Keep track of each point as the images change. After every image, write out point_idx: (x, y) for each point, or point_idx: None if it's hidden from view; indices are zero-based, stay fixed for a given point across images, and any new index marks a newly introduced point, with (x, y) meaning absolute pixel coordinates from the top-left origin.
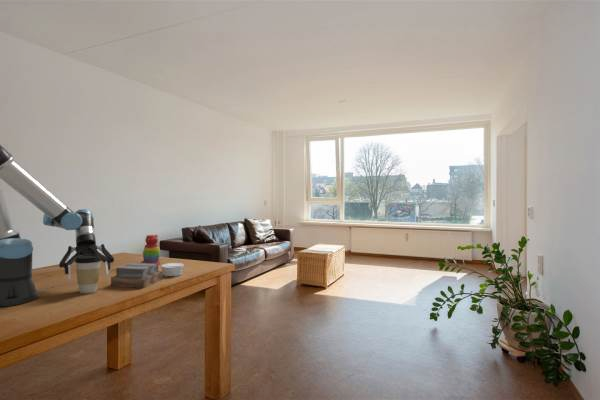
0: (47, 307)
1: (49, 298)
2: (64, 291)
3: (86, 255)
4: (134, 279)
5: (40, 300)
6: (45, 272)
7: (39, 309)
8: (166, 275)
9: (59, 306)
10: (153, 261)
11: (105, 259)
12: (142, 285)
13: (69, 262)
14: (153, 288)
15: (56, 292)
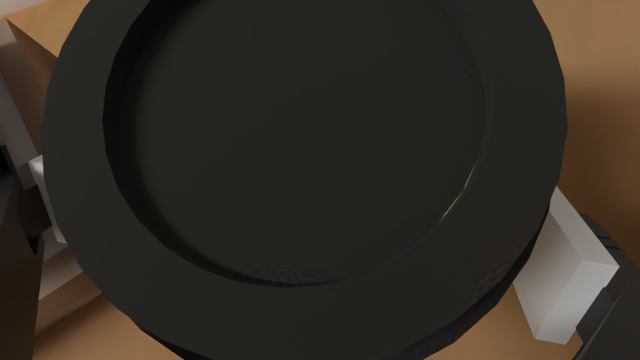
0: (594, 23)
1: (579, 206)
2: (468, 339)
3: (278, 289)
4: (37, 76)
5: (634, 195)
6: None
7: (634, 14)
8: None
9: (536, 4)
10: None
11: (2, 196)
12: (48, 53)
13: (625, 312)
14: (29, 20)
15: (525, 352)
